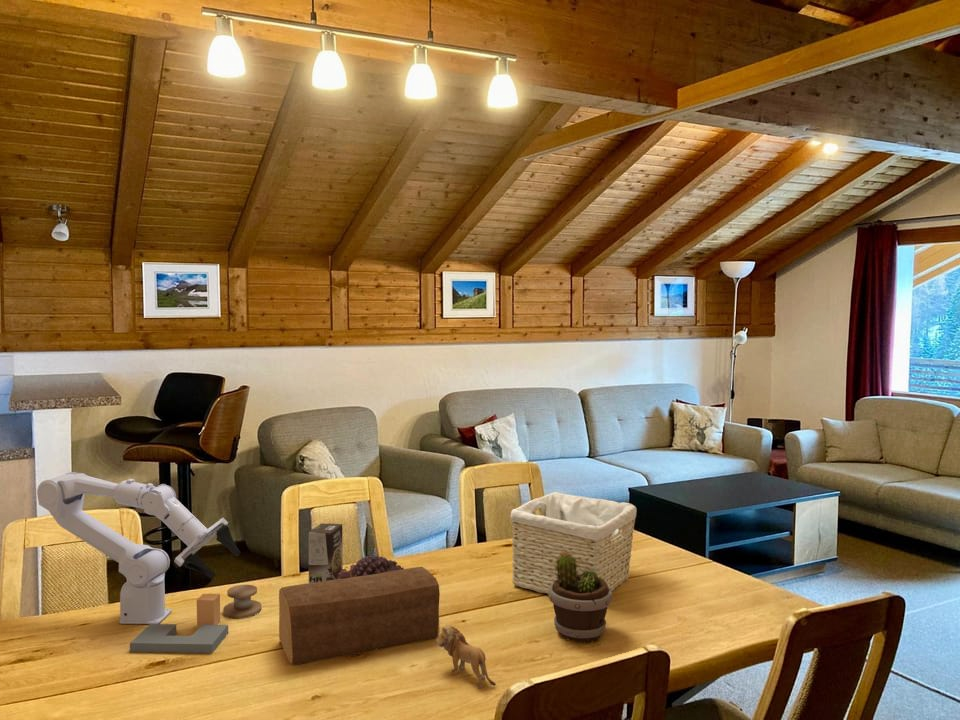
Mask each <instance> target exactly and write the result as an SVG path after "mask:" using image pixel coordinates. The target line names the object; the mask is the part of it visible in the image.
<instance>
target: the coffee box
mask: <svg viewBox="0 0 960 720" xmlns="http://www.w3.org/2000/svg"><path fill="white" fill-rule="evenodd" d="M343 550H344V549H343V524H342V523H323V522H321V523H320V524H319V525H317V526H315V527H314V528H313V529H311V530H309V531H308V583H315V582H323V581H329V580H335V579H341V578H340V576H337V574H339V573H341V571H342V570H343V565H344V564H343Z"/></svg>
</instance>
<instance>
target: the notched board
mask: <svg viewBox="0 0 960 720" xmlns="http://www.w3.org/2000/svg"><path fill="white" fill-rule="evenodd" d="M177 632H178V631H177V623H159V624H148V626H147V627H146V628H144V629H143V630H142V631H141V632H140V633H139V634H138V635H137V636H136V637H135V638H134V639H133V640H131V642H129V652H130V653H164V652H174V654H175V652H178V653H177V654H179V653H180V652H182V653H181V654H213V653H214V652H215V651H216V650H217V648H218V647H219V646H220V645H221V643H222V642H223V641H224V639H225V638H226V637H227V636H228V634H229V625H228V624H219V625H201V627H200V628H199V629H196V631H195V632H194V633H193V634H192V635H176V634H177ZM226 635H227V636H226ZM222 640H223V641H222ZM218 645H219V646H218ZM214 650H215V651H214Z"/></svg>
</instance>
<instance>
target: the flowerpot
mask: <svg viewBox="0 0 960 720" xmlns="http://www.w3.org/2000/svg"><path fill="white" fill-rule="evenodd" d="M564 549H565V548H564ZM565 550H566V549H565ZM561 552H562V551H561ZM565 552H566V551H565ZM571 552H572V551H571ZM571 552H570V553H569V552H568V553H564V552H563V554H562V556H560V555H559V556H560V558H559V559H558V560H557V562H556V561H555V562H556V563H557V564H556V565H557V567H555V569H554V570H555V571H558V572H557V573H558V575H556V574H555V575H556V577H555V578H558V579H556V580H555V581H554V583H553V584H552V585H551V586H550V588H549V594H548V600H549V601H550V602H551V603H552V606H553V610H554V614H555V616H554V618H553V623H554V628H555V629H556V631H557V632H558V635H559V636H561V637H562V638H564V639H566V640H568V641H571V642H576V643H577V642H581V643H586V642H588V641H589V642H593V641H594V642H595V641H596V640H598V639H600V637H601V636H602V634H604V632H605V630H606V626H607V620H606V619H605V618H606V615H607V611H608V607H609V606H610V605H611V604H612V603H613V591H612V590H611V588H610V587H608V585H607V583H606V582H605V580H603V579H602V578H599V577H598V576H597V574H596V573H595V572H596V571H595V569H592V570H594V571H595V572H593V571H592V570H591V569H589V571H586V570H585V572H584V573H582V574H581V575H577V574H578V573H579V572H578V570H577V572H576V568H577V567H578V565H577V564H576V561H575V560H577V559H576V558H575V559H574V557H572V556H570V555H572V554H571ZM567 554H568V555H567ZM559 556H557V557H559ZM579 566H580V565H579ZM591 567H592V566H591ZM591 567H590V568H591ZM578 568H579V567H578ZM588 568H589V567H588ZM588 568H587V569H588ZM583 571H584V570H583Z"/></svg>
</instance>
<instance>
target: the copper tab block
mask: <svg viewBox="0 0 960 720" xmlns="http://www.w3.org/2000/svg"><path fill="white" fill-rule="evenodd" d="M219 623H220V624H221V593H202V594H201V595H200V596H199V597H198V598H197V599H196V630H198V629H199V628H200V627H201V625H218V624H219ZM220 624H219V625H220Z"/></svg>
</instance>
